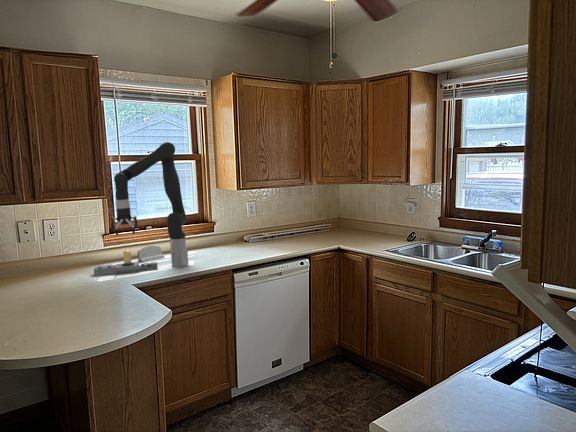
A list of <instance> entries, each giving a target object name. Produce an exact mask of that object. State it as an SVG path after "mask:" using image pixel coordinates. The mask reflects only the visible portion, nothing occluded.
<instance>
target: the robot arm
mask: <svg viewBox="0 0 576 432" xmlns="http://www.w3.org/2000/svg"><path fill="white" fill-rule="evenodd" d="M175 153H176V147H175V145H174V144H173V143H172V142H170V141H165V142H162V143H161V144H160V145H159V147H158V148H156V149H155V150H154V151H153V152H151V153H149V154H148V155H146V156H144V157H143V158H141V159H139V160H137V161H135V162H134V163H132V164H131V165H129V166H128V167H127V168H124V169H123V170H121V171H119V172H117V173H116V174H114V178H113V181H114V184H115V185H114V186H115V207H116V208H115V209H116V210H115V211H116V217H111V229H114V230H115V235H116V236H117V237H118V236H119V227H120V225H123V226H124V225H130V226H131V231H132V235H135V233H136V229H135V228H137V227H138V226H139V225H138V219H137V216H136V215H135V216H131V213H132V212H131V203H130V197H129V182H130V180H132V179H133V178H136V177H138V176H139V175H141V174H143V173H145V172H146V171H147V170H149V169H150V168H152V166H154V165H156V164H157V163H159V162H160V161H161V168H162V177H163V178H162V179H163V186H164V191H165V194H166V196H167V198H168V200H169V202H170V204H171V209H172V212H171V213H169V214H168V215H167V217H166V224H167V225H166V227H167V233H168V235H169V245H170V260H171V267H172V268H183V267H186V266H189V254H188V252H189V250H188V249H187V242H186V233H185V232H184V231H183V226H184V225H185V224H186V223H187V215H186V211H185V208H184V204H183V197H182V190H181V184H180V178H179V175H178V171H177V169H176V165H175ZM132 220H133V221H134V224H133V222H132ZM116 221H117V224H116V225H115V222H116Z"/></svg>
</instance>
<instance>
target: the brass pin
mask: <svg viewBox="0 0 576 432" xmlns="http://www.w3.org/2000/svg"><path fill="white" fill-rule="evenodd" d="M122 252H123V263H124V266H131V265H132V263H131V262H132V253H131V250H125V251H122Z"/></svg>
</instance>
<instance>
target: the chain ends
mask: <svg viewBox="0 0 576 432" xmlns="http://www.w3.org/2000/svg"><path fill="white" fill-rule="evenodd" d="M131 263H132V265H131V266H124V262H122V263H116V264H111V263H110V264H107V265H98V266H94V267H93V276H94V277H100V276H109V275H116V276H117V275H125V274H134V273H135V274H136V273H141V272H146V271H153V270H154V271H155V270H156V271H157V270H158V262H157V261H156V262H149V263H148V262H143V263H141V264H140V261H131Z"/></svg>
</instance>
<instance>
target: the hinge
mask: <svg viewBox="0 0 576 432" xmlns="http://www.w3.org/2000/svg"><path fill="white" fill-rule="evenodd" d="M160 259H161V260H162V259H165V255H164V253H163V251H162V248H161V246H160V245H149V246H145V247H144V246H143V247H142V248H140V249H138V250H137V260H138V261H137V262H141V263H148V262H151V261H156V260H160Z"/></svg>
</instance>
